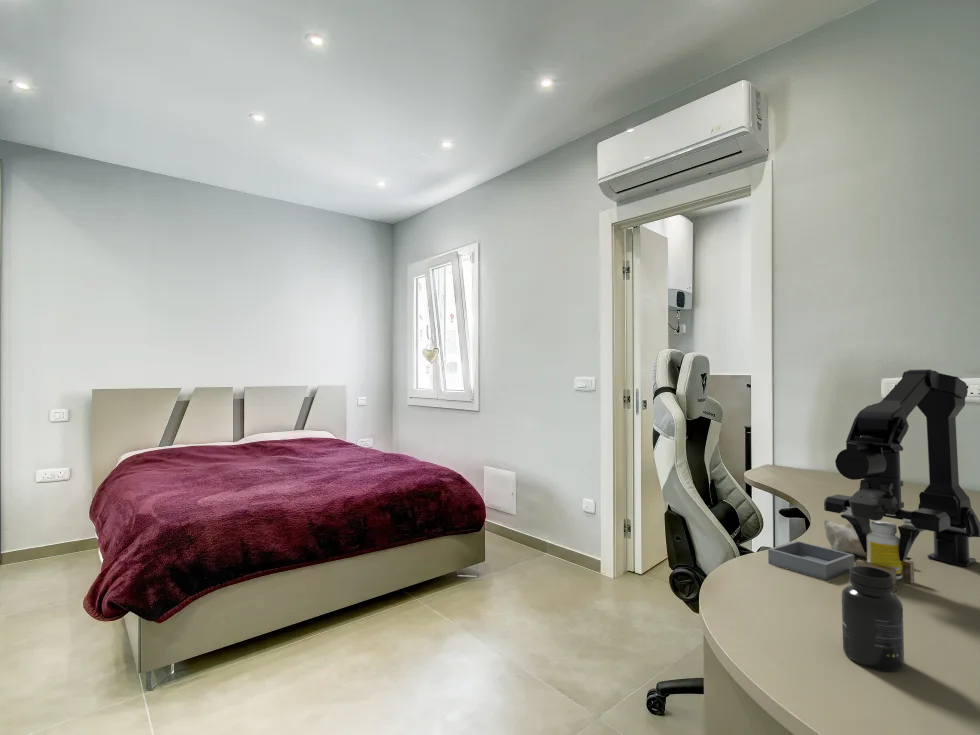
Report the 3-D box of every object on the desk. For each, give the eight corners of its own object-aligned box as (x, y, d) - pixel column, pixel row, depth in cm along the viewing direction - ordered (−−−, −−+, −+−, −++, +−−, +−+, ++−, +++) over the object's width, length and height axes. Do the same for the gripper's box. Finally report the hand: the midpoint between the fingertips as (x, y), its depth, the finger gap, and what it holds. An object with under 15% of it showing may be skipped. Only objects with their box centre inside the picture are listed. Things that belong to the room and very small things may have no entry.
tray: (797, 554, 114) (796, 540, 115) (854, 569, 105) (854, 554, 105) (768, 563, 109) (768, 549, 109) (826, 580, 99) (826, 564, 99)
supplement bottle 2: (831, 648, 73) (828, 563, 74) (875, 645, 74) (872, 562, 74) (870, 674, 67) (867, 581, 67) (918, 672, 67) (915, 580, 68)
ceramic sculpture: (822, 507, 121) (901, 519, 114) (820, 543, 121) (899, 558, 114) (826, 518, 112) (913, 531, 105) (824, 557, 112) (911, 573, 105)
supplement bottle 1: (909, 581, 95) (907, 528, 95) (876, 579, 96) (874, 526, 96) (892, 571, 100) (891, 520, 100) (861, 569, 101) (860, 519, 102)
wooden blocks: (877, 572, 103) (877, 552, 103) (914, 582, 98) (913, 561, 98) (855, 582, 98) (855, 561, 98) (892, 592, 93) (892, 570, 93)
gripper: (808, 472, 103) (811, 550, 102) (924, 487, 87) (927, 580, 86) (836, 467, 108) (838, 541, 108) (949, 481, 92) (953, 568, 92)
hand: (884, 556), depth 98 cm, fingers closed on supplement bottle 1, 5 cm apart
